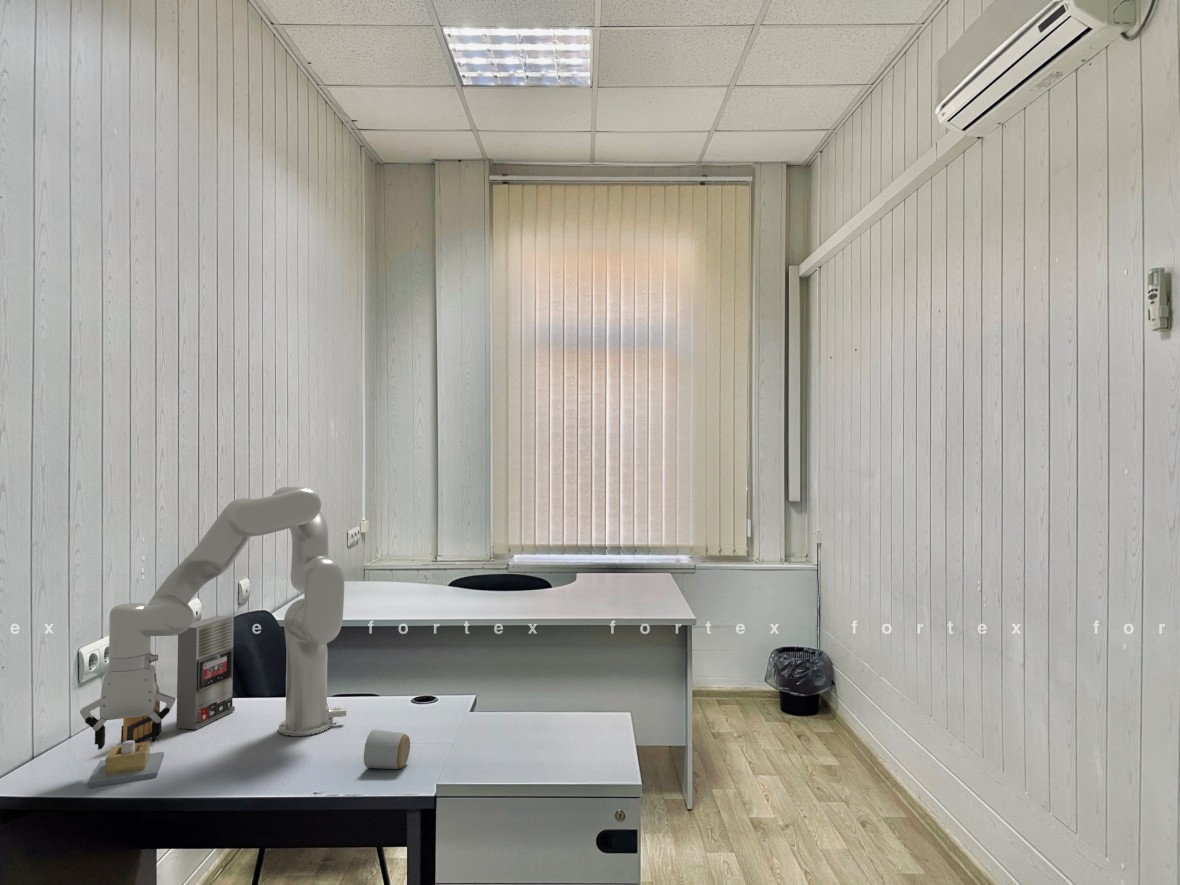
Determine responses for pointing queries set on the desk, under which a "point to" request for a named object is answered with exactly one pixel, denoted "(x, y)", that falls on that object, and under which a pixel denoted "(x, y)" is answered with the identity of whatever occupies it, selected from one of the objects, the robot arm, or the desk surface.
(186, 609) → the robot arm
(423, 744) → the desk surface
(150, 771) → the post plate
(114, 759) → the collar
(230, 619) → the cassette tape recorder
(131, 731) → the ammunition clip
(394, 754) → the grey tan-ended cylinder
